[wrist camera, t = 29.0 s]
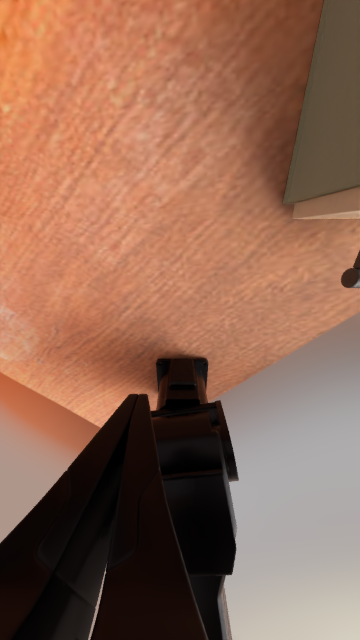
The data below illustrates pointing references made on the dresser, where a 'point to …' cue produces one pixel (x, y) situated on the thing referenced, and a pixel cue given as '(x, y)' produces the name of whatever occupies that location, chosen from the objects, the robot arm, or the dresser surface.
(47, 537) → the robot arm
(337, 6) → the cabinet
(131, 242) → the dresser surface
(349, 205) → the drawer
